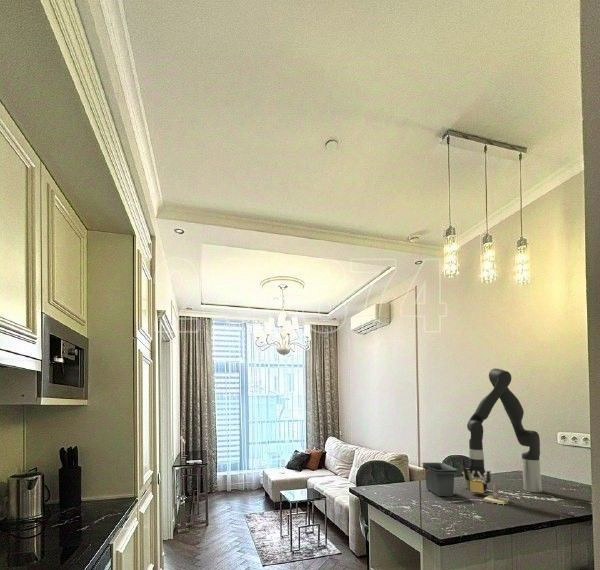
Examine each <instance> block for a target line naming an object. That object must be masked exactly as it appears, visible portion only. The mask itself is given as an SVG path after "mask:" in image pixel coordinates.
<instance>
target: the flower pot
mask: <svg viewBox="0 0 600 570" xmlns="http://www.w3.org/2000/svg"><path fill="white" fill-rule="evenodd" d="M462 474H463V479H464V483H465V484H464V485H465V489H466V488H467V489H466V490H469V489H470V487H469V481H468V480H466V479H465V472H464V471H462ZM468 474H469V478H470V476H471V472H470V471H469V472H468ZM473 480H479V477H474V478H473Z"/></svg>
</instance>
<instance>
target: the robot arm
mask: <svg viewBox="0 0 600 570" xmlns="http://www.w3.org/2000/svg"><path fill="white" fill-rule="evenodd" d="M488 379H489V382H490V384H491V385H492V387H493V389H492V390H491V391H490V392H489V393H488V394H487V395H485V396H484V397H483V398H482V399H481V401H479V404H478V406H477V407H476V410H475V411H474V413H473V414H472V415H471V417H470V418H469V419H468V421H467V424H466V428H467V430H468V431H469V432H470V438H469V440H468V441H469V442H468V443H469V453H468V457H469V467H468V468H467V467H465V468H463V470H464V471H463V472H465V479H466V480H468V481H469V487H470V481H472V480H473V478H474V477H478V479H480V480H481V481H483V483H484V484H483V486H484V491H485V492H487V491H486V490H488V484H489V483H490V482H491V476H492V475H491V473H492V472H491V470H486V469H485V455H484V454H485V453H484V449H483V448H484V447H483V438H484V426H483V423H484V421H486V420H487V419H488V417H489V415H490V414H491V411H492V410H493V408H494V406H495V404H496V403H497V402H498V400H499V399H500V402H501V404H502V406H503V408H504V411H505V413H506V415H507V417H508V418H509V421H510V423H511V425H512V428H513V431H514V434H515V436H516V439H517V442H518V443H519V445H521V446H523V447H529V449H528V451H526V452H522V453H521V463H522V464H521V465H522V479H523V483H522V484H523V490H524V491H525V492H529V493H542V492H543V491H542V489H543V488H542V475H541V464H540V463H541V461H540V457H541V439H540V434H539V433H538V431H536V430H529V429H525V428H524V426H523V422H522V421H523V418H524V414H525V413H524V408H523V406H522V403H521V402H520V400H519V398H518V397H517V396H516V395H515V394H514V393H513V391H511V390H510V388H509V385H510V384H511V382H512V375H511V373H510V372H509V371H507V370H504V369H500V368H492V369H490V371H489V373H488ZM468 472H471V476H470V478H469V474H468Z"/></svg>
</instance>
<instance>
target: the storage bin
mask: <svg viewBox="0 0 600 570" xmlns="http://www.w3.org/2000/svg"><path fill="white" fill-rule="evenodd" d="M421 464H422V475H423V477H425V484H426V490H427V489H428V490H427V491H429V490H430V491H429V492H431V493H432V492H433V493H432V494H434V493H435V494H434V495H436V494H437V495H438V496H437V495H436V496H437V497H439V496H448V497H454V489H455V488H454V487H455V475H456V474H457V470H458V469H457V468H455V467H453V466H451V465H449V464H446V463H444V462H422V463H421Z"/></svg>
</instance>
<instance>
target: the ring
mask: <svg viewBox="0 0 600 570" xmlns="http://www.w3.org/2000/svg"><path fill="white" fill-rule="evenodd" d="M483 484H484V483H483V481H482V480H481V479H478V480H472V481H470V492H474V493H479V494H483V493H486V492H487V490H488V489H487V490H486V491H484V486H483Z"/></svg>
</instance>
